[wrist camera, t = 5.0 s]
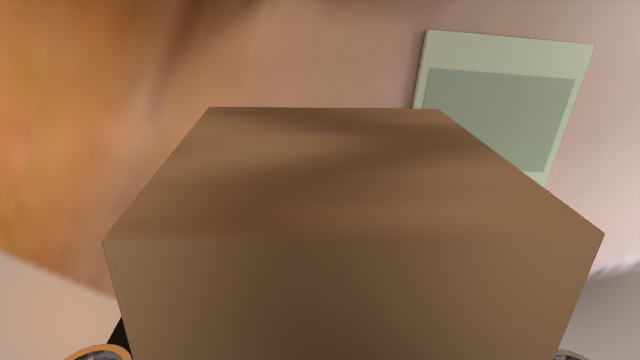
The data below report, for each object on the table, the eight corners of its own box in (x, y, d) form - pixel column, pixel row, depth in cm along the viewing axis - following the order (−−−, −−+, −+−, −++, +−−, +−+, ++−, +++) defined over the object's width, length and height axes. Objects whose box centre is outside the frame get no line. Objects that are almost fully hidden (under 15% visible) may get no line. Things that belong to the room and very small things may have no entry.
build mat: (590, 44, 22) (596, 44, 22) (536, 196, 26) (540, 199, 26) (426, 29, 21) (428, 29, 21) (396, 191, 25) (398, 194, 25)
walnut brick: (438, 108, 10) (605, 233, 5) (399, 349, 14) (467, 570, 8) (209, 107, 10) (101, 241, 4) (234, 355, 14) (195, 591, 8)
